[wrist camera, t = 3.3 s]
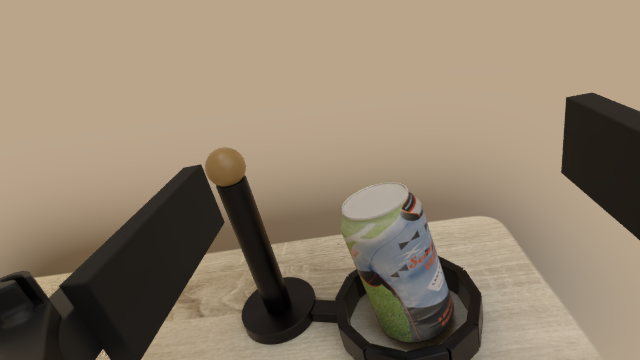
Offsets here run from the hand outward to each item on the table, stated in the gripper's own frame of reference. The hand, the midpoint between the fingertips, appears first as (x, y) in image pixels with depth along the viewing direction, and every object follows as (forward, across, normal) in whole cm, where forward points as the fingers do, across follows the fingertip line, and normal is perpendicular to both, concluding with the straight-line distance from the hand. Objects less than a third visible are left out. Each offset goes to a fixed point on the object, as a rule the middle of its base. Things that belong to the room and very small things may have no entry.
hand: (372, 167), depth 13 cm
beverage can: (+10, 0, -19) cm, 21 cm away
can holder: (+10, -4, -19) cm, 22 cm away
